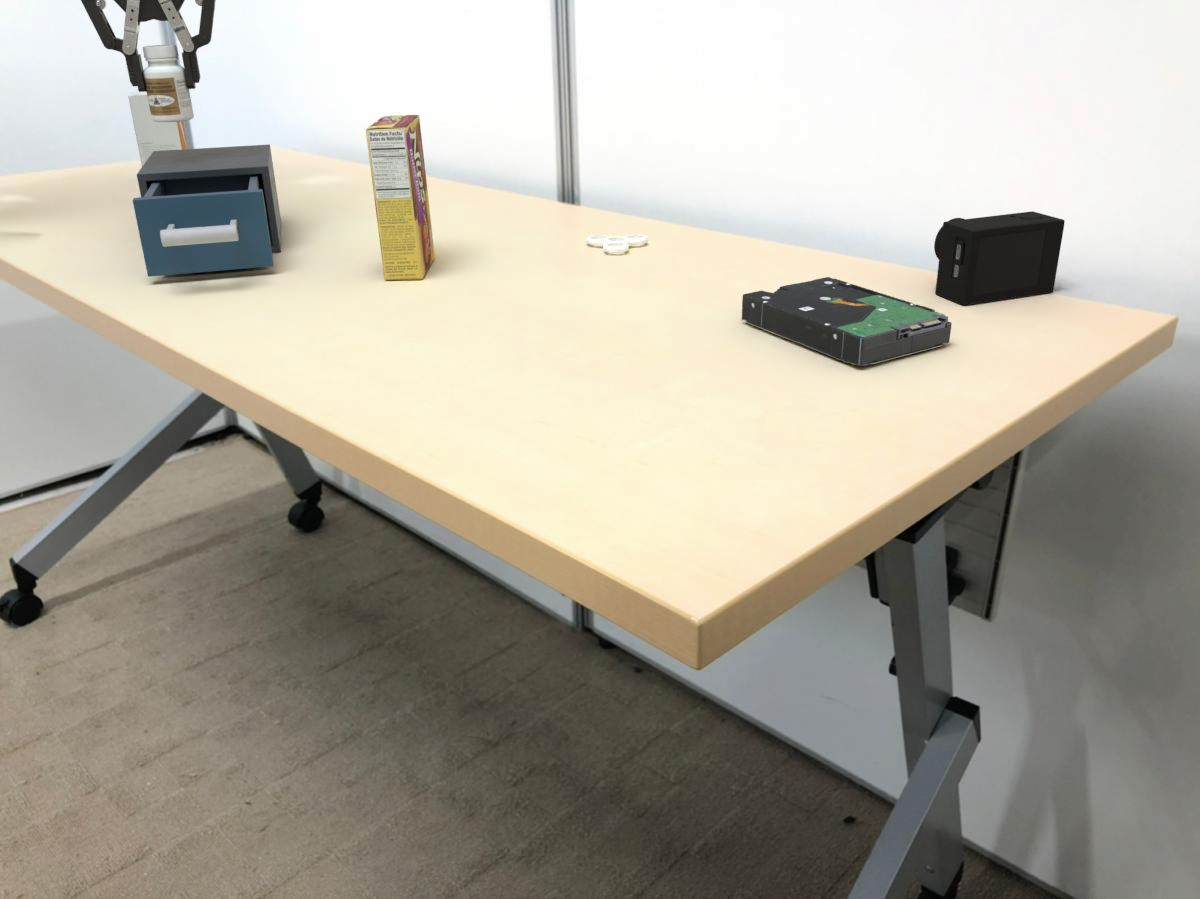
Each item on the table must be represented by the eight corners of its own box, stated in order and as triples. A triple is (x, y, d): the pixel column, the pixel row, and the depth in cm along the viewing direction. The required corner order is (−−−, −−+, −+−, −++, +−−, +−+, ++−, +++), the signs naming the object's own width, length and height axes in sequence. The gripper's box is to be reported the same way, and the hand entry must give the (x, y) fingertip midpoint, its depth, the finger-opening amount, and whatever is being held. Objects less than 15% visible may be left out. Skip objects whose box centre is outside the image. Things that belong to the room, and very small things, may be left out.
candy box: (396, 259, 117) (382, 114, 110) (435, 258, 116) (423, 113, 110) (380, 281, 108) (364, 126, 102) (422, 280, 108) (408, 125, 102)
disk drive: (738, 325, 93) (860, 370, 82) (739, 294, 92) (863, 336, 81) (825, 304, 98) (952, 345, 87) (827, 275, 97) (956, 312, 86)
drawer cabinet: (280, 252, 121) (268, 165, 117) (153, 262, 117) (136, 174, 113) (281, 221, 135) (269, 144, 131) (168, 230, 132) (153, 151, 128)
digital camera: (1014, 278, 105) (1024, 207, 102) (1054, 292, 100) (1066, 218, 97) (926, 291, 101) (934, 218, 98) (963, 306, 97) (973, 230, 94)
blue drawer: (272, 280, 106) (261, 202, 103) (141, 291, 103) (124, 211, 100) (274, 234, 125) (264, 166, 122) (163, 242, 122) (149, 173, 119)
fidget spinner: (581, 242, 121) (581, 235, 121) (631, 235, 124) (631, 228, 124) (610, 255, 116) (610, 248, 115) (661, 247, 118) (661, 240, 118)
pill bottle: (144, 122, 116) (129, 47, 113) (167, 117, 120) (153, 44, 117) (179, 123, 115) (165, 47, 112) (202, 117, 119) (189, 44, 116)
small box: (188, 182, 162) (172, 93, 156) (144, 185, 160) (126, 95, 155) (193, 173, 169) (178, 87, 163) (151, 176, 167) (134, 89, 162)
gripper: (209, -85, 114) (236, 83, 121) (65, -82, 111) (102, 90, 118) (205, -88, 108) (234, 89, 115) (53, -86, 104) (92, 97, 111)
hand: (167, 88), depth 116 cm, fingers closed on pill bottle, 4 cm apart
